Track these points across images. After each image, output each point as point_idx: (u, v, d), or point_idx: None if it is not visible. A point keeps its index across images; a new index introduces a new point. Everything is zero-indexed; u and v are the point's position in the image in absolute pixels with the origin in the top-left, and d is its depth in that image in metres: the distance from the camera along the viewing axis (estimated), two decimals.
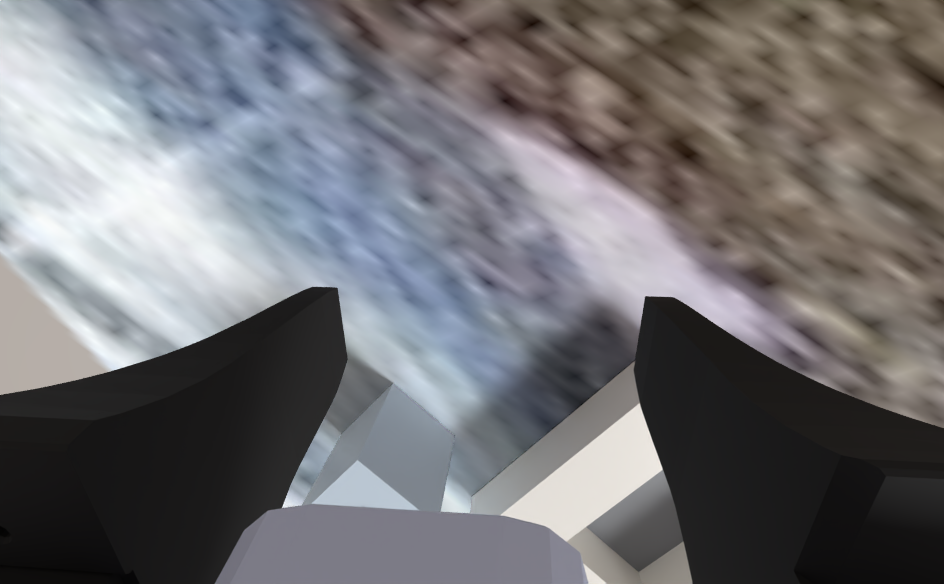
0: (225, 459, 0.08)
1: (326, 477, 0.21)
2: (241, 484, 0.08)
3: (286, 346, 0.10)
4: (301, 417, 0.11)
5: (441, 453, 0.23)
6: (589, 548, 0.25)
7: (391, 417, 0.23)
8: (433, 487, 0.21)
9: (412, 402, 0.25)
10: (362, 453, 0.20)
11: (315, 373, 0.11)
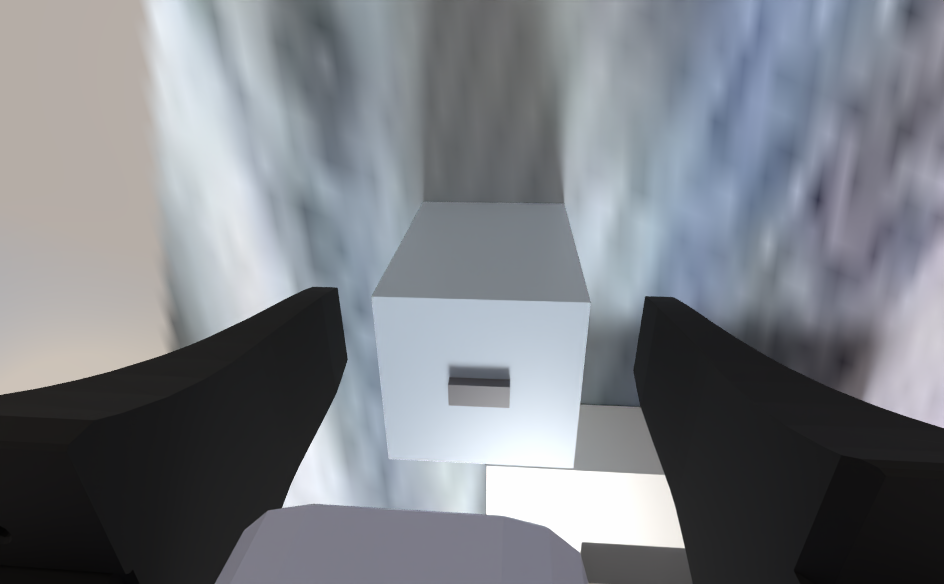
0: (225, 459, 0.08)
1: (452, 267, 0.11)
2: (241, 484, 0.08)
3: (286, 346, 0.10)
4: (301, 417, 0.11)
5: None
6: None
7: None
8: None
9: None
10: (587, 293, 0.10)
11: (315, 373, 0.11)
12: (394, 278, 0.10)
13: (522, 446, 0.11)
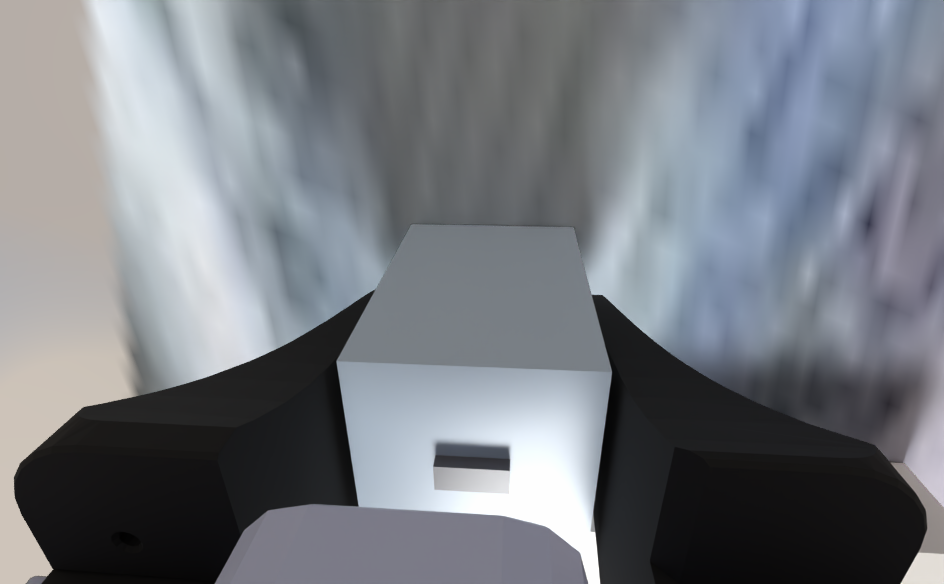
0: (323, 464, 0.08)
1: (439, 317, 0.09)
2: (333, 489, 0.08)
3: None
4: None
5: None
6: None
7: None
8: None
9: None
10: (607, 355, 0.08)
11: None
12: (367, 333, 0.08)
13: None
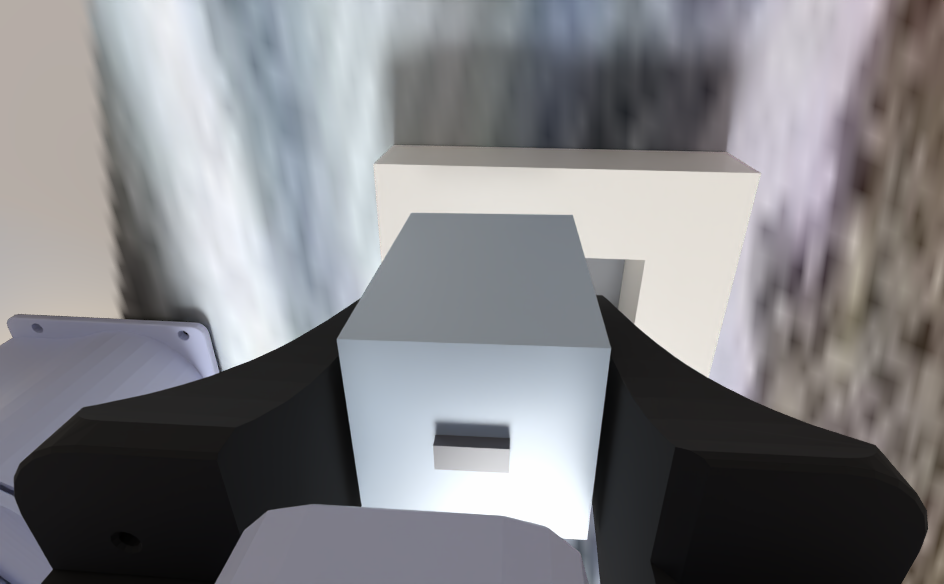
0: (323, 464, 0.08)
1: (439, 298, 0.09)
2: (333, 489, 0.08)
3: None
4: None
5: None
6: None
7: None
8: None
9: None
10: (605, 333, 0.08)
11: None
12: (367, 313, 0.08)
13: (525, 514, 0.09)
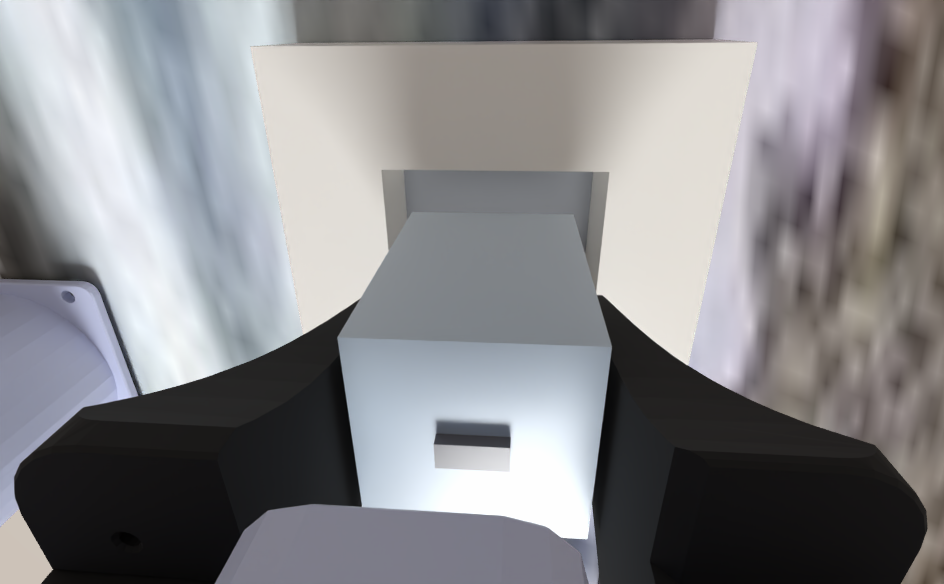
0: (323, 464, 0.08)
1: (440, 297, 0.09)
2: (333, 490, 0.08)
3: None
4: None
5: None
6: (397, 225, 0.16)
7: None
8: None
9: None
10: (606, 333, 0.08)
11: None
12: (368, 312, 0.08)
13: (525, 513, 0.09)
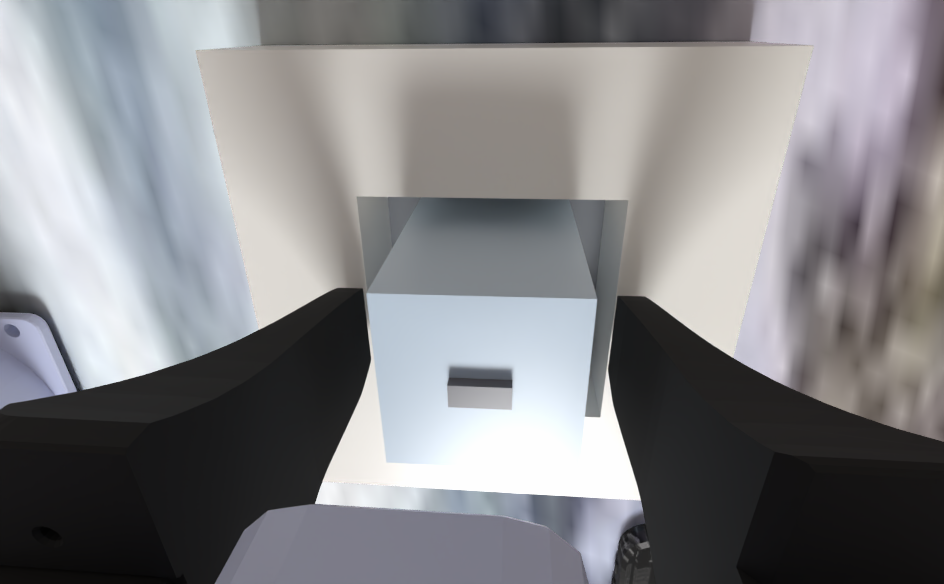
0: (264, 461, 0.08)
1: (451, 262, 0.10)
2: (277, 486, 0.08)
3: (318, 347, 0.10)
4: (330, 418, 0.11)
5: None
6: (379, 256, 0.14)
7: None
8: None
9: None
10: (593, 289, 0.09)
11: (343, 374, 0.11)
12: (390, 274, 0.10)
13: (525, 449, 0.11)
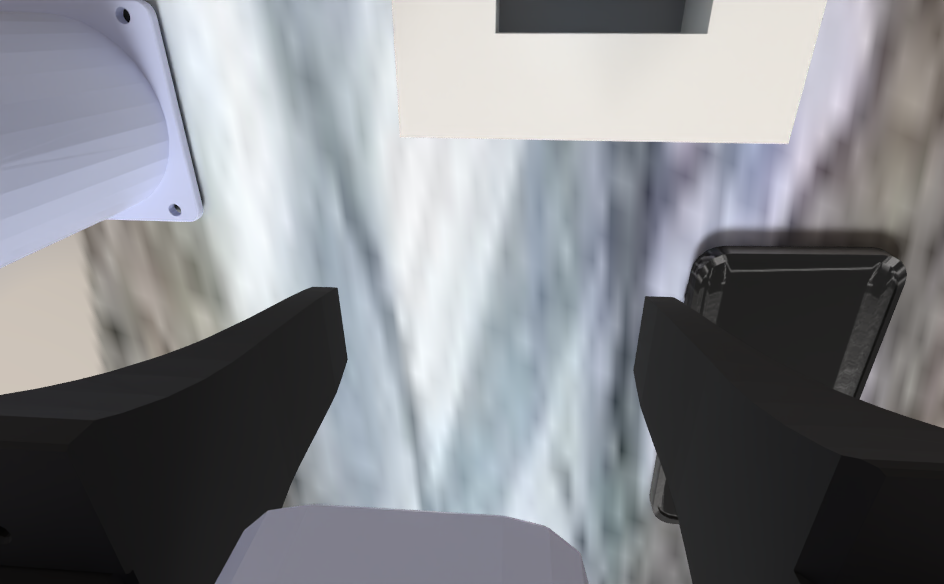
0: (225, 459, 0.08)
1: None
2: (241, 484, 0.08)
3: (286, 346, 0.10)
4: (301, 417, 0.11)
5: None
6: None
7: None
8: None
9: None
10: None
11: (315, 373, 0.11)
12: None
13: None
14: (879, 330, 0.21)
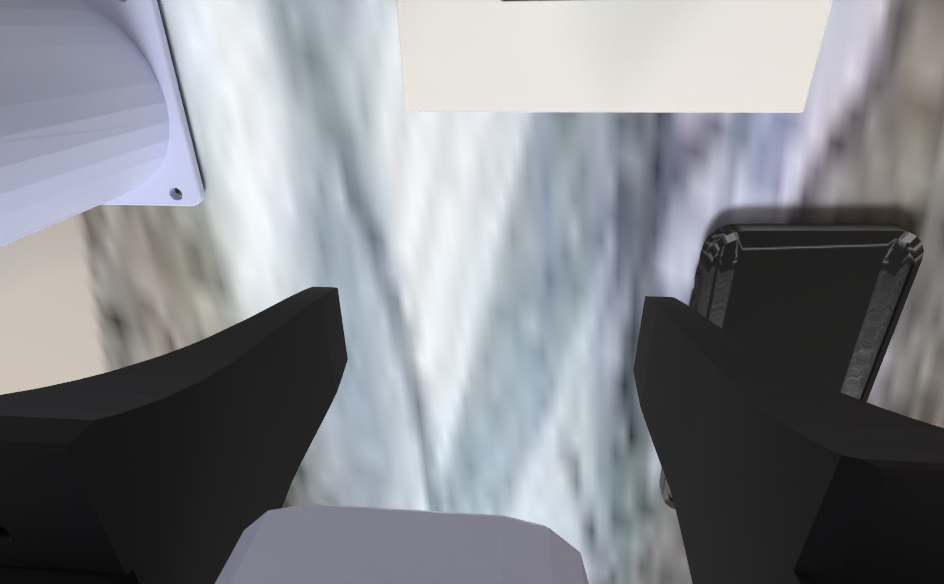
0: (225, 459, 0.08)
1: None
2: (241, 484, 0.08)
3: (286, 346, 0.10)
4: (301, 417, 0.11)
5: None
6: None
7: None
8: None
9: None
10: None
11: (315, 373, 0.11)
12: None
13: None
14: (895, 309, 0.21)
